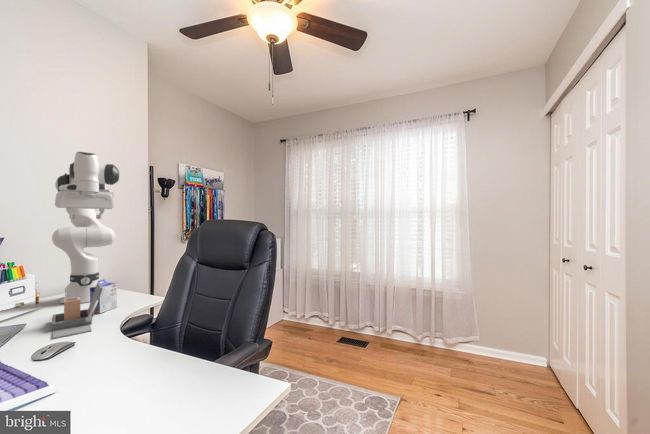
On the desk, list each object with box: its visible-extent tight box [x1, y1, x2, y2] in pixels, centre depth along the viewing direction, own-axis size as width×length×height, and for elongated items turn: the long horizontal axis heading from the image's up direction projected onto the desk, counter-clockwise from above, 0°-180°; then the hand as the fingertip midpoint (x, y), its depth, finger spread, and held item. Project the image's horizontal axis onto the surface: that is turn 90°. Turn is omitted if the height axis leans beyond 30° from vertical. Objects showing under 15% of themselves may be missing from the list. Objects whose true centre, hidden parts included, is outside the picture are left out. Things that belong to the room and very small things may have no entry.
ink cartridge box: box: [89, 279, 118, 315], centre depth 135 cm, size 10×6×14 cm, turn 174°
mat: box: [52, 324, 92, 340], centre depth 110 cm, size 8×11×1 cm
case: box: [51, 282, 103, 333], centre depth 119 cm, size 16×16×15 cm
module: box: [63, 297, 81, 321], centre depth 119 cm, size 5×5×11 cm
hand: (85, 218), depth 126 cm, fingers open, 8 cm apart
